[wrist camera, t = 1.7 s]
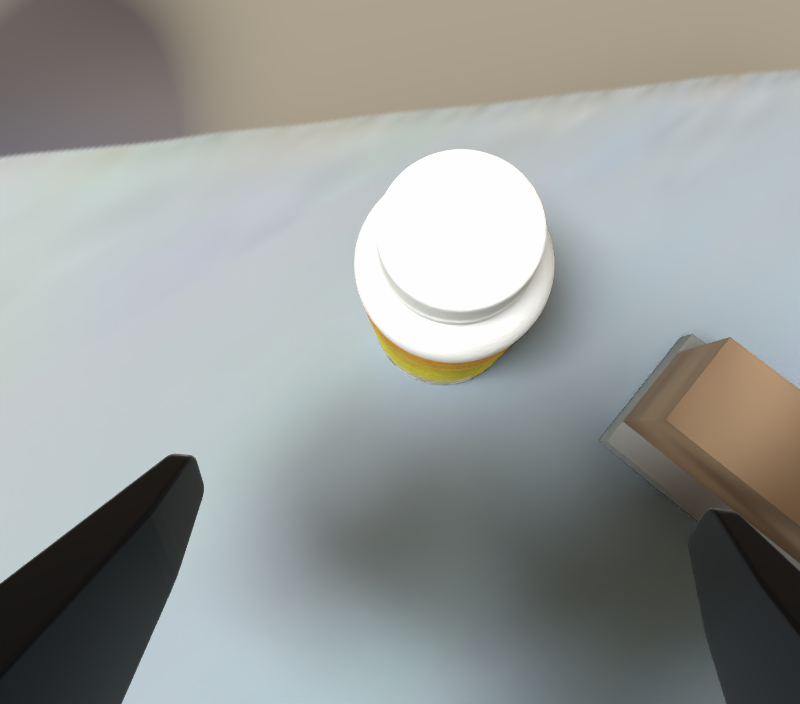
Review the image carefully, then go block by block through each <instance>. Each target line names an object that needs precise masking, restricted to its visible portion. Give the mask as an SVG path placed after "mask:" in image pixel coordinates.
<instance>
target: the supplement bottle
mask: <svg viewBox="0 0 800 704" xmlns="http://www.w3.org/2000/svg"><path fill="white" fill-rule="evenodd" d="M554 270H555V258H554V249H553V244H552V240H551V237H550V233H549V231H548V228H547V226H546V217H545V212H544V209H543V205H542V203H541V200H540V198H539V196H538V194H537V192H536V190H535V189H534V187H533V185H532V184H531V183H530V182H529V180H528V179H527V178H526V177H525V176H524V175H523V174H522V173H521V172H520V171H519V170H518V169H516V168H515V167H514V166H512V165H511V164H510V163H508V162H506V161H505V160H503V159H501V158H499V157H496V156H494V155H492V154H489V153H485V152H481V151H477V150H467V149H456V150H447V151H442V152H438V153H434V154H431V155H429V156H426V157H424V158H422V159H420V160H418V161H417V162H415V163H413V164H412V165H410V166H409V167H408V168H406V169H405V170H404V171H403V172H402V173H401V174H400V175H399V176H398V177H397V178H396V179H395V180H394V181H393V183H392V184H391V185H390V187H389V188H388V190H387V192H386V193H385V195H384V196H383V197H382V198H381V199H380V200H379V201H378V202H377V204H376V205H375V206H374V207H373V209H372V210H371V211H370V213H369V215H368V217H367V218H366V220H365V222H364V224H363V226H362V228H361V231H360V233H359V237H358V240H357V244H356V250H355V258H354V271H355V280H356V284H357V289H358V292H359V296H360V299H361V301H362V304H363V306H364V308H365V310H366V313H367V315H368V317H369V319H370V322H371V324H372V326H373V328H374V331H375V333H376V335H377V337H378V339H379V342H380V344H381V346H382V348H383V350H384V351H385V353H386V355H387V356H388V358H389V359H390V360H391V362H392V363H393V364H394V365H395V366H396V367H397V368H398V369H399V370H401V371H402V372H403V373H405V374H407V375H408V376H410V377H412V378H414V379H416V380H418V381H421V382H425V383H428V384H434V385H451V384H457V383H461V382H465V381H467V380H470V379H472V378H474V377H476V376H478V375H479V374H481V373H483V372H484V371H486V370H487V369H488V368H489V367H490V366H491V365H492V364H493V363H495V362H496V361H497V360H498V359H499V358H500V357H501V356H502V355H503V354H504V353H505V352H506V351H507V350H508V349H509V348H510V347H511V346H512V345H514V344H515V343H516V342H517V341H518V340H519V339H520V338H521V337H522V336H523V335H525V334H526V333H527V332H528V331H529V329H530V328H531V326H532V325H533V324H534V323H535V322H536V320H537V319H538V317H539V316H540V314H541V312H542V311H543V309H544V307H545V305H546V303H547V300H548V298H549V295H550V292H551V289H552V285H553V279H554Z"/></svg>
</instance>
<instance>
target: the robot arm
mask: <svg viewBox="0 0 800 704" xmlns="http://www.w3.org/2000/svg"><path fill="white" fill-rule="evenodd" d="M203 493H204V484H203V480H202V477H201V474H200V470H199V467H198V464H197V461H196V458H194V457H193V456H191V455H184V454H171V455H169V456H167V457H165V458H164V459H163V460H162V461H160V462H159V463H158V464H156V465H155V466H154V467H152V468H151V469H150V470H148V471H147V472H146V473H145V474H143V475H142V476H141V477H139V478H138V479H137V480H135V481H134V482H133V483H131V484H130V485H129V486H127V487H126V488H125V489H124V490H122V491H121V492H120V493H118V494H117V495H116V496H114V497H113V498H112V499H110V500H109V501H108V502H107V503H105V504H104V505H103V506H101V507H100V508H99V509H97V510H96V511H95V512H93V513H92V514H91V515H90V516H88V517H87V518H86V519H84V520H83V521H82V522H80V523H79V524H78V525H76V526H75V527H74V528H72V529H71V530H70V531H69V532H67V533H66V534H65V535H63V536H62V537H61V538H59V539H58V540H57V541H55V542H54V543H53V544H52V545H50V546H49V547H48V548H46V549H45V550H44V551H42V552H41V553H40V554H38V555H37V556H36V557H34V558H33V559H32V560H31V561H29V562H28V563H27V564H25V565H24V566H23V567H21V568H20V569H19V570H17V571H16V572H15V573H14V574H12V575H11V576H10V577H8V578H7V579H6V580H4V581H3V582H2V583H0V704H122V701H123V699H124V697H125V695H126V692H127V690H128V688H129V686H130V683H131V681H132V679H133V676H134V674H135V672H136V670H137V667H138V665H139V663H140V661H141V658H142V656H143V654H144V651H145V649H146V647H147V645H148V642H149V640H150V638H151V636H152V633H153V631H154V629H155V626H156V624H157V622H158V620H159V617H160V615H161V613H162V611H163V608H164V606H165V604H166V601H167V599H168V597H169V595H170V592H171V590H172V588H173V585H174V583H175V580H176V578H177V575H178V572H179V569H180V566H181V564H182V560H183V557H184V554H185V551H186V548H187V545H188V542H189V538H190V535H191V532H192V529H193V526H194V523H195V520H196V516H197V513H198V510H199V507H200V504H201V501H202V497H203ZM688 547H689V553H690V558H691V563H692V569H693V574H694V579H695V584H696V589H697V594H698V599H699V604H700V609H701V614H702V619H703V624H704V629H705V633H706V637H707V641H708V644H709V648H710V652H711V655H712V658H713V661H714V665H715V668H716V671H717V674H718V678H719V681H720V684H721V687H722V691H723V694H724V697H725V700H726V703H727V704H800V570H799V569H798V568H797V567H795V566H794V565H793V564H792V563H791V562H790V561H789V560H788V559H787V558H786V557H785V556H784V555H783V554H782V553H780V552H779V551H778V550H777V549H776V548H775V547H774V546H773V545H772V544H771V543H770V542H769V541H768V540H767V539H766V538H764V537H763V536H762V535H761V534H760V533H759V532H758V531H757V530H756V529H755V528H754V527H753V526H752V525H751V524H749V523H748V522H747V521H746V520H745V519H744V518H743V517H742V516H741V515H740V514H738V513H737V512H735V511H733V510H729V509H719V508H709V509H707V510H706V511H705V512H704V513H703V515H702V516H701V518H700V520H699V521H698V523H697V524H696V526H695V527H694V529H693V530H692V532H691V534H690V536H689V541H688Z"/></svg>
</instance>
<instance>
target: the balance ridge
mask: <svg viewBox="0 0 800 704" xmlns="http://www.w3.org/2000/svg"><path fill="white" fill-rule="evenodd" d="M598 441H599V442H600V443H602V444H603V445H604V446H605V447H607V448H608V449H609V450H610V451H611V452H613V453H614V454H615V455H616V456H618V457H619V458H620V459H621V460H622V461H624V462H625V463H626V464H627V465H629V466H630V467H631V468H632V469H634V470H635V471H636V472H637V473H638V474H640V475H641V476H642V477H643V478H645V479H646V480H647V481H648V482H649V483H651V484H652V485H653V486H654V487H656V488H657V489H658V490H659V491H661V492H662V493H663V494H664V495H665V496H667V497H668V498H669V499H670V500H672V501H673V502H674V503H675V504H676V505H678V506H679V507H680V508H681V509H683V510H684V511H685V512H686V513H688V514H689V515H690V516H691V517H692V518H694V519H695V520H696V521H697V522H698V521H699V520H700V518H701V516H702V515H703V513H704V512H705V511H706V510H707V509H709V508H719V509H729V510H733V511H735V512H737V513H738V514H740V515H741V516H742V517H743V518H744V519H745V520H746V521H747V522H748V523H749V524H751V525H752V526H753V527H754V528H755V529H756V530H757V531H758V532H759V533H760V534H761V535H762V536H763V537H764V538H766V539H767V540H768V541H769V542H770V543H771V544H772V545H773V546H774V547H775V548H776V549H777V550H778V551H779V552H780V553H782V554H783V555H784V556H785V557H786V558H787V559H788V560H789V561H790V562H791V563H792V564H793V565H794V566H795V567H797V568H798V569H799V570H800V389H798V388H797V387H796V386H794V385H793V384H792V383H790V382H789V381H788V380H786V379H785V378H784V377H782V376H781V375H780V374H778V373H777V372H776V371H774V370H773V369H772V368H770V367H769V366H768V365H766V364H765V363H764V362H762V361H761V360H760V359H758V358H757V357H756V356H754V355H753V354H752V353H750V352H749V351H748V350H746V349H745V348H744V347H743V346H741V345H740V344H739V343H737V342H736V341H735V340H733V339H732V338H731V337H729V338H726V339H723V340H719V341H716V342H713V343H709V344H705V343H704V342H702V341H701V340H700V339H698V338H697V337H696V336H694V335H693V334H691V335H688V336H685V337H682V338H680V339H679V340H678V341H677V342H676V344H675V345H674V346H673V347H672V349H671V350H670V351H669V352H668V354H667V355H666V356H665V358H664V359H663V360H662V361H661V363H660V364H659V365H658V366H657V368H656V369H655V370H654V371H653V373H652V374H651V375H650V376H649V378H648V379H647V380H646V381H645V383H644V384H643V385H642V386H641V388H640V389H639V390H638V391H637V393H636V394H635V395H634V396H633V398H632V399H631V400H630V401H629V403H628V404H627V405H626V406H625V408H624V409H623V410H622V411H621V413H620V414H619V415H618V416H617V418H616V419H615V420H614V421H613V423H612V424H611V425H610V426H609V428H608V429H607V430H606V431H605V433H604V434H603V435H602V436H601V438H600V439H599V440H598Z"/></svg>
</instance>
